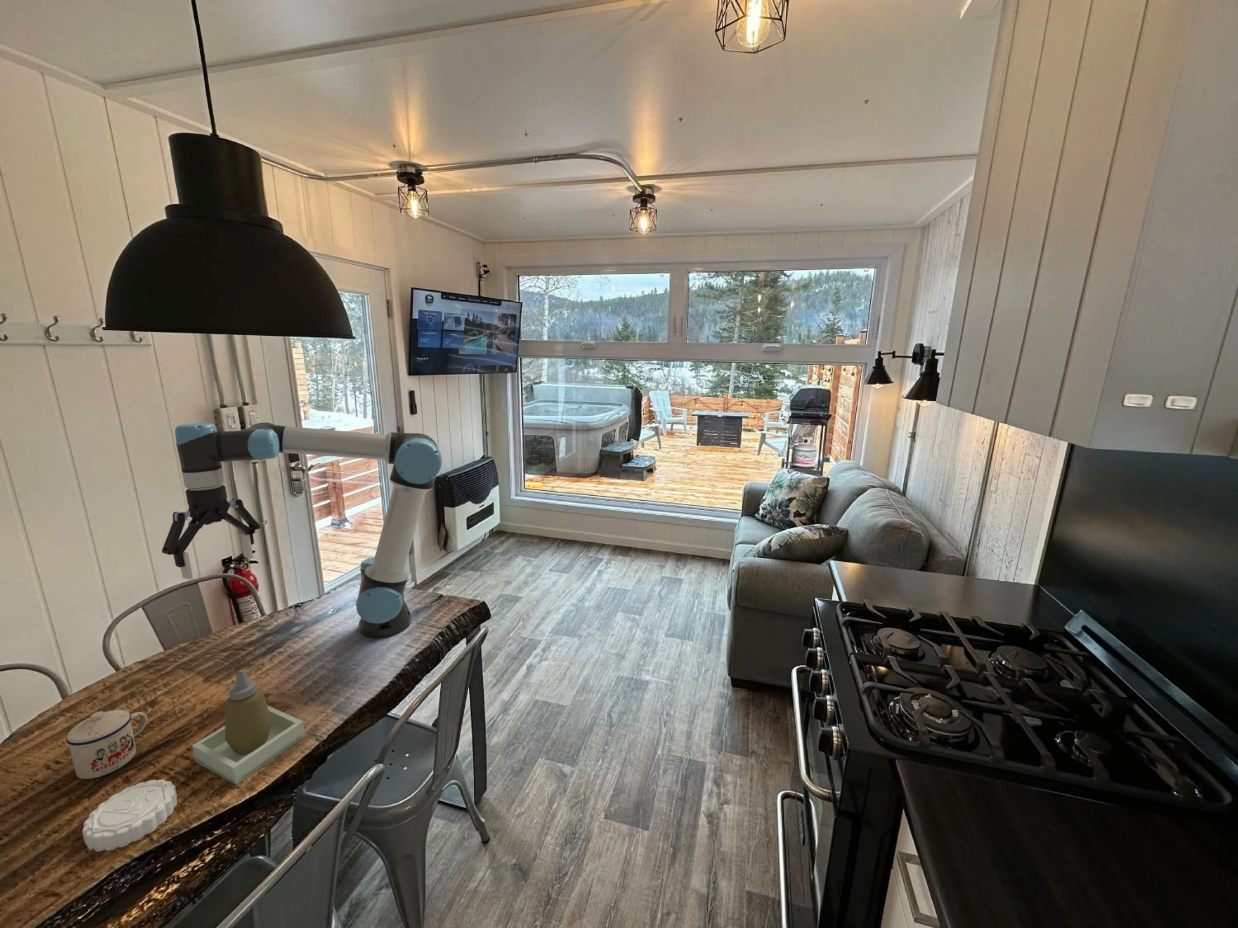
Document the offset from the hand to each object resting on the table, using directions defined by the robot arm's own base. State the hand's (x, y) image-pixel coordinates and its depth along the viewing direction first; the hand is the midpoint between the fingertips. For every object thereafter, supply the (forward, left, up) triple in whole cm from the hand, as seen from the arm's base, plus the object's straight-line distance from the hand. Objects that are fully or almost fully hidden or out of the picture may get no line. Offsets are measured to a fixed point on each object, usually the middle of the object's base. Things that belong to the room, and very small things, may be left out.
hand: (219, 567), depth 122 cm
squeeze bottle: (+14, +30, -30) cm, 45 cm away
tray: (+14, +30, -31) cm, 45 cm away
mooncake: (+33, +28, -32) cm, 53 cm away
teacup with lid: (+27, +7, -31) cm, 42 cm away
